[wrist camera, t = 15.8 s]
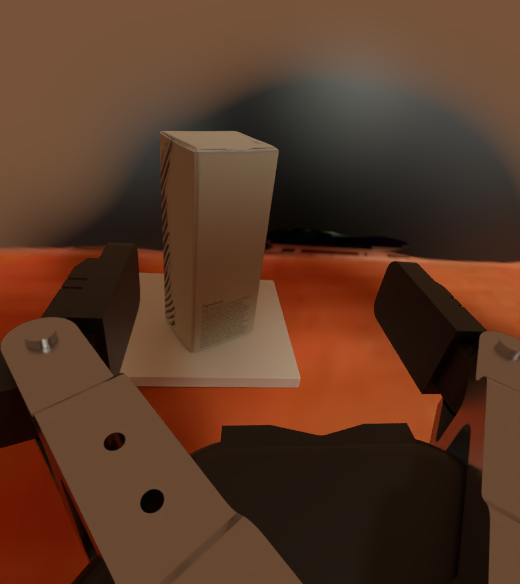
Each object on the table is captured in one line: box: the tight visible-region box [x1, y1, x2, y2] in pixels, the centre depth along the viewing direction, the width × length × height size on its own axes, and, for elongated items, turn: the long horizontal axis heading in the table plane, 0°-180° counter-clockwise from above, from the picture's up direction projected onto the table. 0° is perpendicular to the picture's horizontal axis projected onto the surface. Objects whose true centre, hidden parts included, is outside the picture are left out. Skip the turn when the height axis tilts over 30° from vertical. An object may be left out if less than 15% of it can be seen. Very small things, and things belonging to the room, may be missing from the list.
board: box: [119, 272, 301, 388], centre depth 27 cm, size 12×12×1 cm
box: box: [160, 131, 279, 352], centre depth 22 cm, size 5×4×13 cm
